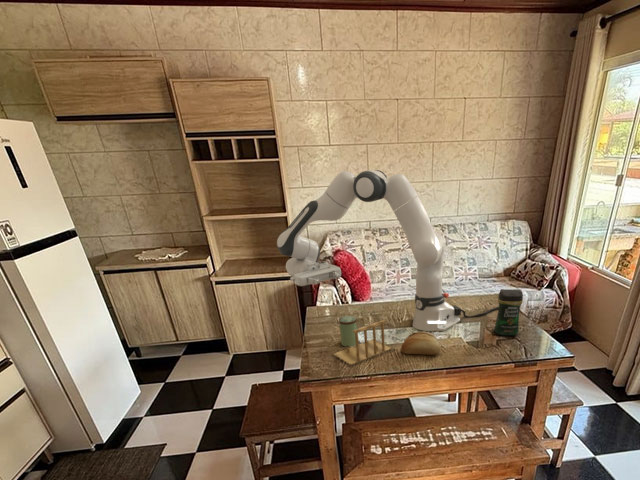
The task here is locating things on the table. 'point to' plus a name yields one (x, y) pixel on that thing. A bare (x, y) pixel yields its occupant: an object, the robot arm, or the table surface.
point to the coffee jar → (508, 312)
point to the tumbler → (347, 330)
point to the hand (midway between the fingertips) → (327, 279)
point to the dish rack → (364, 345)
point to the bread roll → (421, 344)
